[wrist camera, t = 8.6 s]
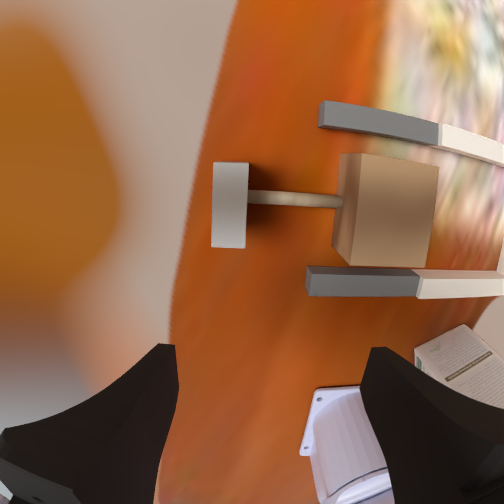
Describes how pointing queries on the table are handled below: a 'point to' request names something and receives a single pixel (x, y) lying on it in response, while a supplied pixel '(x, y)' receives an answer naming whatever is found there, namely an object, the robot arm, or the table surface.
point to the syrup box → (464, 365)
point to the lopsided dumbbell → (345, 208)
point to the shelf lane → (500, 280)
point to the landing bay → (369, 279)
